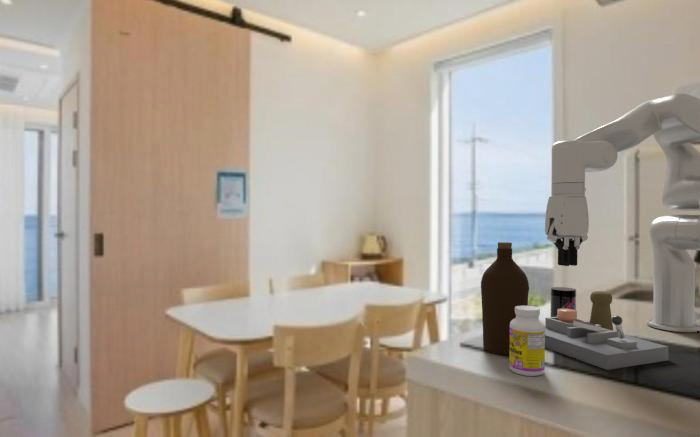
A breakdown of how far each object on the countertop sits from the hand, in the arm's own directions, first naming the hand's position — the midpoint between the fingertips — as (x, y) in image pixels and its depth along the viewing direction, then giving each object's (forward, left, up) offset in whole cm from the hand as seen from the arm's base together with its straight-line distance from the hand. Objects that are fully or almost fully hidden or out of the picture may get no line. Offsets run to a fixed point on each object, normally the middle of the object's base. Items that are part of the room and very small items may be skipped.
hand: (567, 264), depth 115 cm
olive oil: (+19, 0, -19) cm, 27 cm away
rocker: (0, +8, -14) cm, 16 cm away
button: (0, 0, -14) cm, 14 cm away
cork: (-16, -4, -19) cm, 25 cm away
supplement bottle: (+25, +14, -19) cm, 35 cm away
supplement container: (-13, -14, -19) cm, 27 cm away
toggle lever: (0, +15, -14) cm, 21 cm away
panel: (0, +7, -19) cm, 20 cm away
